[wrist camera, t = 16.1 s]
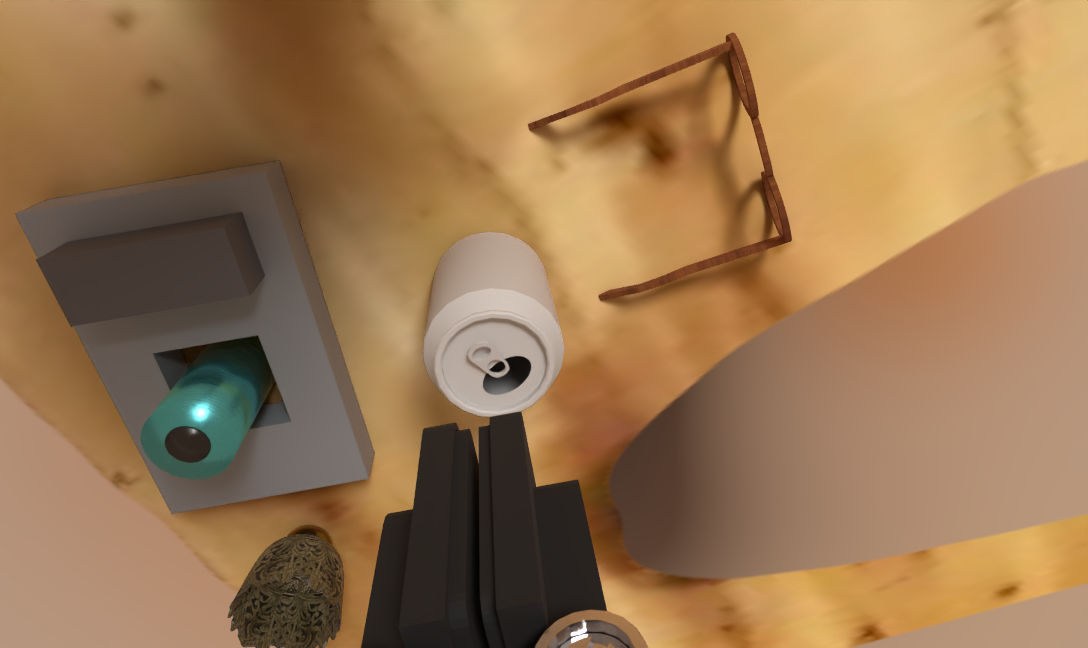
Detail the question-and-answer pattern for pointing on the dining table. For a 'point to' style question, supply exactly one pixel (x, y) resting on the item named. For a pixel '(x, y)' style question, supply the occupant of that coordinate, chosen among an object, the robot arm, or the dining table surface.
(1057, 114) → the dining table surface
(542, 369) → the can
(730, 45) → the glasses
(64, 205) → the plate
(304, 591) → the cup
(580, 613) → the robot arm
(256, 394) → the teal translucent cylinder
